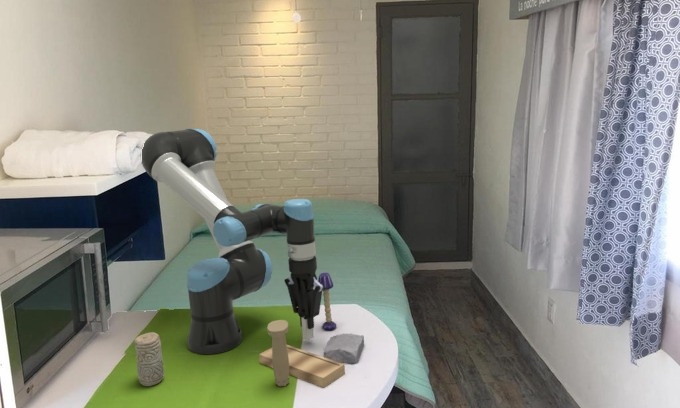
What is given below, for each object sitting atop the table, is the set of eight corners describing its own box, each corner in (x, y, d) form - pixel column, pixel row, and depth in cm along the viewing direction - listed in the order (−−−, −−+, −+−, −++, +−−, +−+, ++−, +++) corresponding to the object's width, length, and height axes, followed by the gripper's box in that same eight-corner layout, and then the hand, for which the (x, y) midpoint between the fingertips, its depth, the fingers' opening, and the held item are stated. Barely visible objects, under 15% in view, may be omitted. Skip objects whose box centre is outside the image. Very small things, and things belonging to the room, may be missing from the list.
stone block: (323, 370, 144) (360, 364, 142) (318, 352, 144) (355, 347, 142) (332, 350, 156) (367, 345, 154) (328, 334, 155) (363, 328, 153)
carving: (142, 391, 135) (136, 345, 132) (135, 379, 141) (129, 334, 139) (169, 383, 138) (163, 338, 136) (161, 371, 144) (155, 327, 142)
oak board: (259, 363, 146) (259, 353, 145) (281, 351, 152) (280, 342, 151) (323, 387, 132) (323, 377, 132) (344, 373, 138) (344, 363, 138)
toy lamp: (321, 332, 162) (318, 277, 159) (318, 325, 167) (315, 272, 163) (338, 329, 163) (334, 275, 160) (334, 323, 168) (331, 270, 165)
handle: (271, 391, 132) (265, 332, 129) (273, 377, 138) (269, 320, 135) (291, 390, 132) (286, 330, 129) (293, 376, 138) (289, 319, 135)
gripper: (275, 257, 152) (282, 338, 156) (310, 264, 144) (316, 349, 148) (294, 250, 157) (300, 328, 162) (329, 256, 149) (334, 338, 154)
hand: (308, 338), depth 155 cm, fingers closed
